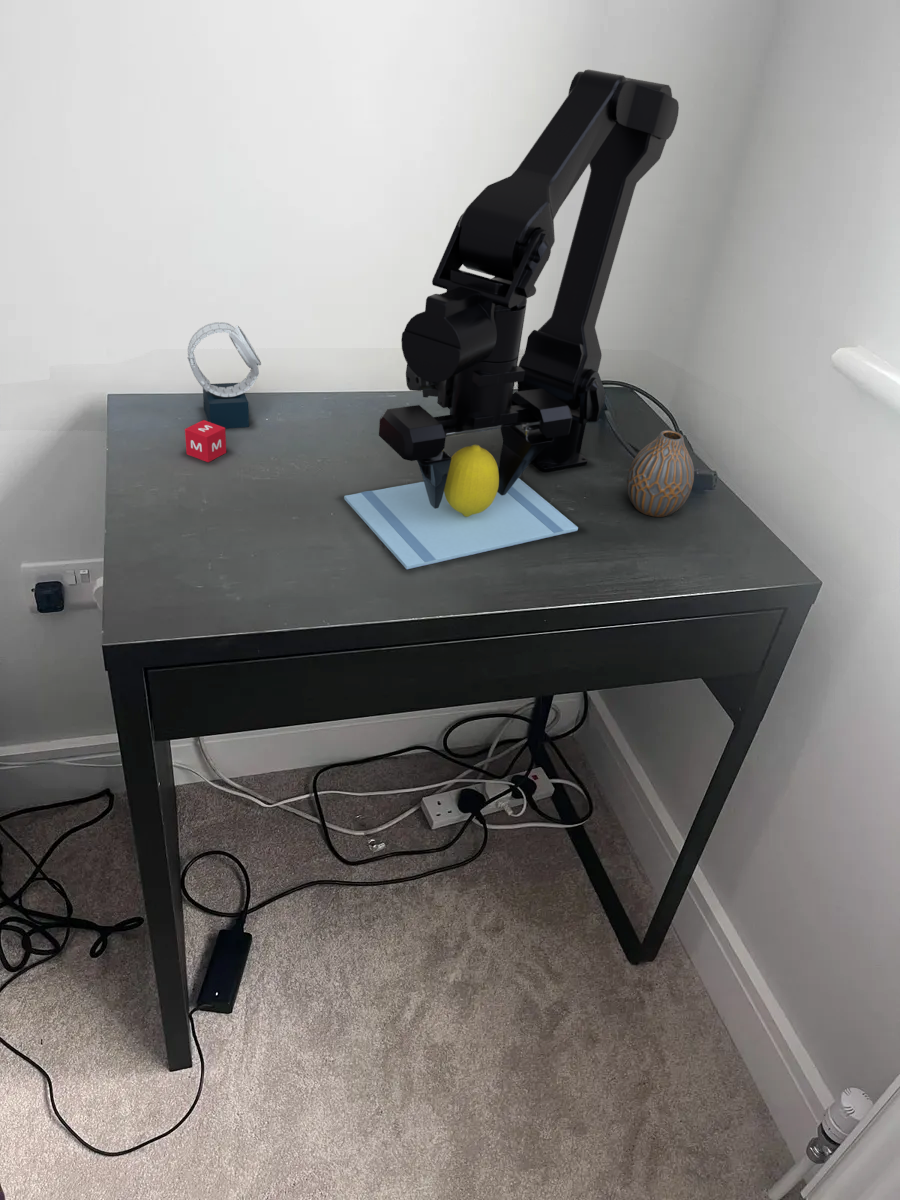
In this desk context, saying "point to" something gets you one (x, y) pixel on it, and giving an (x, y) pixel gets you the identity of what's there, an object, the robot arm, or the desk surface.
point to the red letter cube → (205, 441)
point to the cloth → (454, 522)
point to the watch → (226, 399)
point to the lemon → (471, 480)
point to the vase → (661, 475)
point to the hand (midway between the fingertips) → (468, 499)
